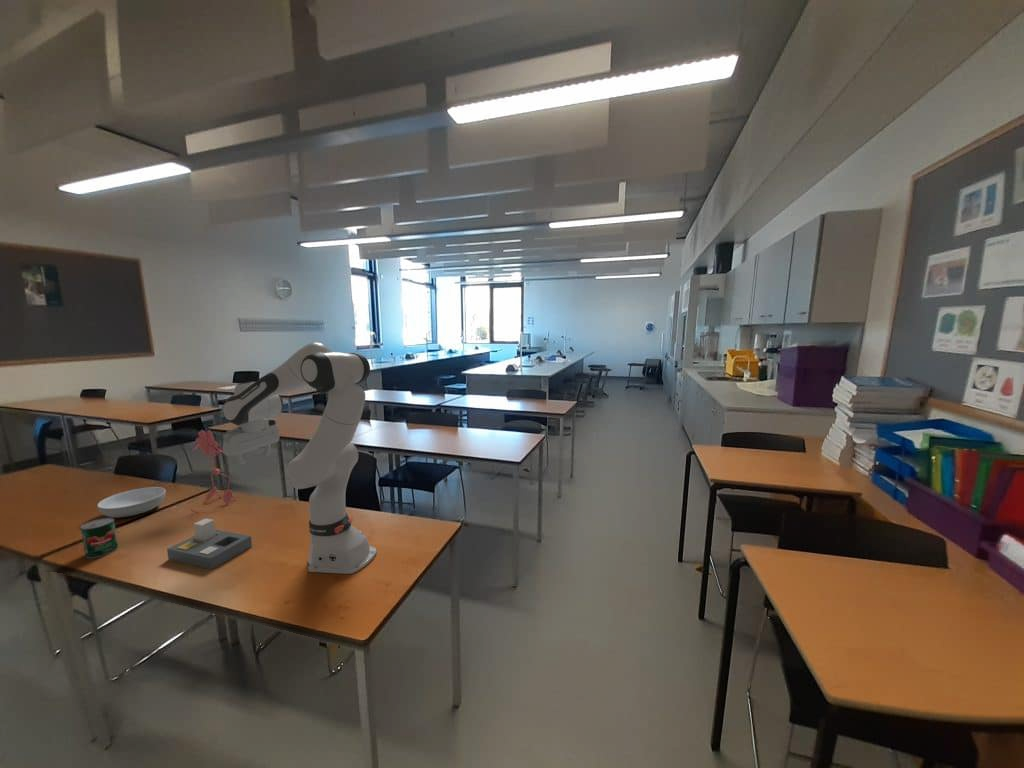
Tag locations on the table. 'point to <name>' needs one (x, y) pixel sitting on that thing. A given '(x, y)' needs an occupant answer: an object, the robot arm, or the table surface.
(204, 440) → the figurine
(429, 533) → the table surface
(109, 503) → the serving bowl
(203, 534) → the plug
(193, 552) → the socket block
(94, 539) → the canned tomato
